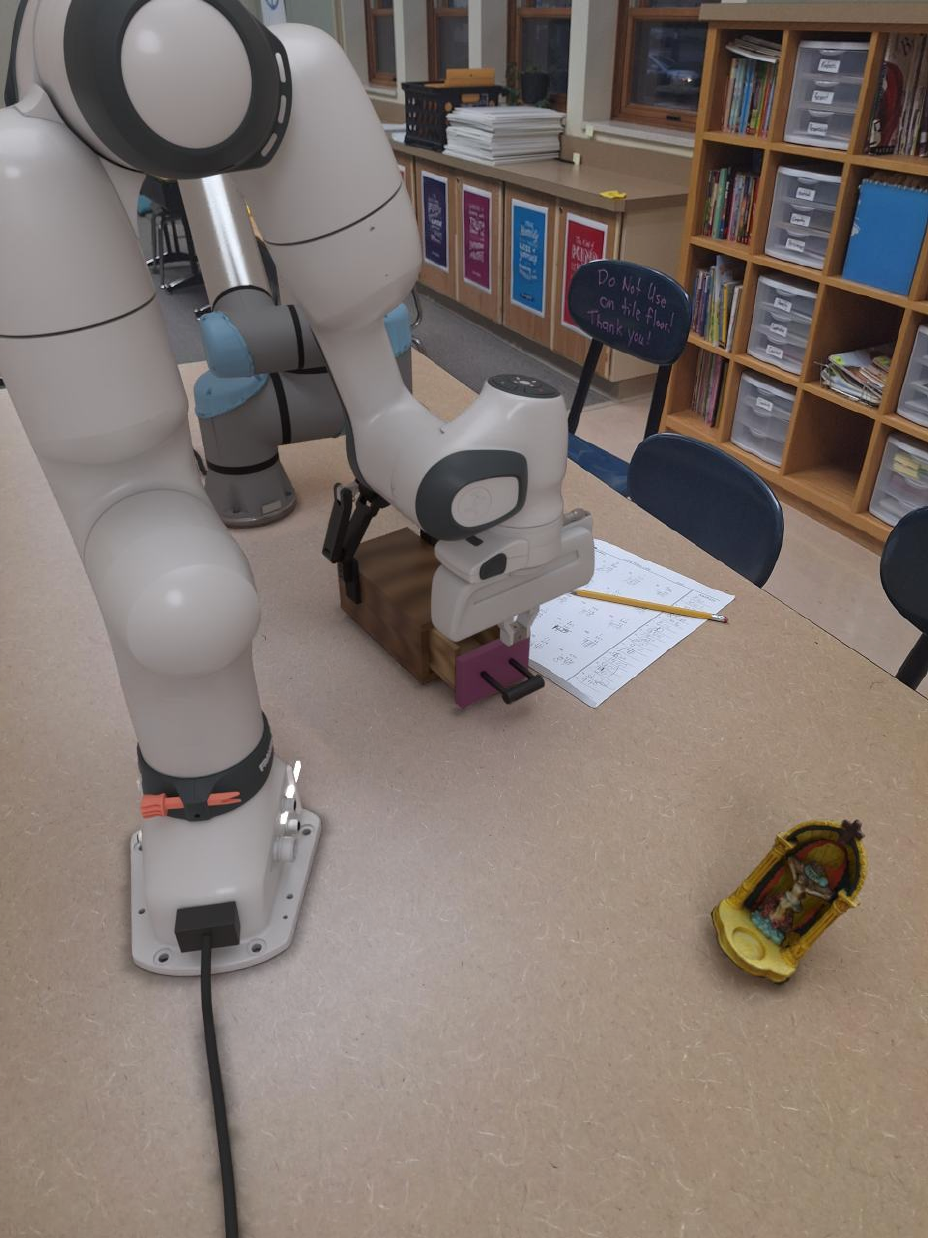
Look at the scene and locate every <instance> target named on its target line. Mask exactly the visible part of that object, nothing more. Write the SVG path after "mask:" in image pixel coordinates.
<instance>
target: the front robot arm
mask: <svg viewBox="0 0 928 1238" xmlns="http://www.w3.org/2000/svg"><path fill="white" fill-rule="evenodd" d="M12 27H13V29H12V35H11V36H12V37H11V44H10V52H9V61H8V67H7V73H6V79H5V85H4V93H3V100H4V105H5V107H2V108H0V377H1V379H2V381H3V384H4V387H5V388H6V391H7V393H8V395H9V396H8V397H9V398H10V400H11V403H12V405H13V407H14V409H15V411H16V414H17V416H18V419H19V421H20V424H21V426H22V428H23V430H24V433H25V435H26V438H27V439H28V442H29V444H30V446H31V449H32V450H33V453H34V455H35V457H36V459H37V461H38V463H39V465H40V468H41V470H42V472H43V475H44V477H45V479H46V481H47V483H48V486H49V487H50V490H51V492H52V494H53V496H54V499H55V501H56V504H57V506H58V509H59V510H60V512H61V515H62V517H63V521H64V522H65V525H66V526H67V529H68V531H69V534H70V536H71V539H72V541H73V543H74V545H75V547H76V551H77V554H78V556H79V558H80V562H81V564H82V566H83V568H84V571H85V574H86V577H87V578H88V581H89V584H90V586H91V590H92V591H93V594H94V597H95V599H96V602H97V605H98V608H99V611H100V613H101V617H102V620H103V623H104V626H105V629H106V632H107V637H108V639H109V643H110V647H111V650H112V654H113V657H114V661H115V664H116V669H117V674H118V677H119V684H120V688H121V691H122V694H123V697H124V701H125V703H126V707H127V711H128V714H129V717H130V721H131V723H132V726H133V730H134V733H135V737H136V741H137V743H136V744H137V745H136V756H137V758H136V759H137V762H136V763H137V772H138V778H137V780H136V782H135V783H136V785H137V788H138V791H139V807H140V810H139V811H140V828H139V829H137V830H136V831H135V832H134V833H133V834H132V836H131V838H130V916H131V917H130V924H131V925H130V926H131V927H130V928H131V931H130V933H131V934H130V935H131V955H132V960H133V963H134V965H136V966H137V967H139V968H140V969H143V970H146V971H148V972H150V973H153V974H160V975H164V976H174V977H175V976H176V977H194V976H200V1000H201V1003H200V1004H201V1013H202V1024H203V1033H204V1042H205V1050H206V1051H205V1052H206V1059H207V1066H208V1067H207V1068H208V1073H209V1074H208V1075H209V1080H210V1087H211V1096H212V1102H213V1111H214V1112H213V1113H214V1121H215V1130H216V1139H217V1148H218V1157H219V1167H220V1175H221V1176H220V1177H221V1187H222V1197H223V1211H224V1228H225V1229H224V1230H225V1232H224V1233H225V1238H239V1226H238V1225H239V1224H238V1210H237V1199H236V1189H235V1188H236V1186H235V1177H234V1167H233V1159H232V1152H231V1144H230V1134H229V1127H228V1126H229V1125H228V1118H227V1111H226V1103H225V1095H224V1090H223V1089H224V1087H223V1082H222V1081H223V1080H222V1075H221V1074H222V1073H221V1069H220V1068H221V1067H220V1062H219V1055H218V1046H217V1039H216V1030H215V1021H214V1012H213V1001H212V999H213V998H212V975H216V974H222V973H223V974H224V973H228V972H234V971H238V970H243V969H246V968H250V967H253V966H256V965H258V964H261V963H264V962H266V961H268V960H271V959H272V958H274V957H276V956H278V955H280V954H281V953H282V952H284V951H285V950H287V949H288V948H289V947H290V945H291V944H292V942H293V941H292V940H293V937H294V934H295V930H296V927H297V924H298V920H299V916H300V912H301V908H302V905H303V902H304V897H305V893H306V889H307V886H308V882H309V878H310V874H311V871H312V867H313V864H314V860H315V857H316V853H317V850H318V846H319V841H320V838H321V834H322V828H323V825H322V822H321V818H320V817H319V816H318V815H317V814H316V813H315V812H312V811H310V810H309V809H306V808H303V805H302V802H301V796H300V792H299V788H298V783H297V781H298V778H299V774H300V770H301V761H300V760H296V762H295V766H294V768H293V766H291V765H290V764H289V763H288V762H287V761H286V760H284V759H283V758H281V757H280V756H279V755H278V753H276V752H275V749H274V739H273V738H274V737H273V732H272V728H271V726H270V723H269V720H268V718H267V715H266V714H265V712H264V710H263V709H262V706H261V700H260V694H259V690H258V689H259V688H258V685H257V679H256V673H255V668H254V660H253V641H254V639H255V638H256V635H257V633H258V630H259V627H260V623H261V617H262V613H261V612H262V608H261V601H260V597H259V593H258V588H257V585H256V580H255V577H254V573H253V571H252V568H251V565H250V561H249V560H248V557H247V555H246V553H245V552H244V550H243V549H242V548H241V546H240V544H239V543H238V542H237V540H236V538H235V537H234V536H233V534H232V533H231V532H230V530H229V529H228V527H226V526H225V524H224V523H223V522H222V520H221V518H220V516H219V515H218V513H217V512H216V510H215V508H214V506H213V504H212V503H211V501H210V499H209V497H208V495H207V493H206V491H205V489H204V487H205V485H204V484H203V481H202V478H201V475H200V472H199V467H198V463H197V459H196V457H195V455H194V450H195V449H194V445H193V440H192V435H191V428H190V421H189V409H190V405H189V398H188V395H187V392H186V388H185V385H184V382H183V378H182V374H181V372H180V368H179V364H178V361H177V358H176V355H175V351H174V348H173V344H172V342H171V337H170V334H169V331H168V328H167V325H166V321H165V317H164V314H163V310H162V307H161V304H160V301H159V297H158V294H157V291H156V287H155V284H154V282H153V278H152V275H151V272H150V269H149V265H148V263H147V260H146V258H145V254H144V252H143V248H142V246H141V243H140V240H141V237H140V236H141V235H140V229H139V222H138V207H139V206H138V205H139V198H140V195H141V194H140V193H141V191H142V190H141V189H142V188H143V187H142V186H143V183H144V181H145V179H146V177H147V174H148V175H151V176H153V177H157V178H161V179H168V180H189V179H200V178H206V177H211V176H215V175H220V174H225V173H227V174H228V175H229V177H230V178H231V179H232V181H233V182H234V184H235V185H236V187H237V188H238V190H239V191H240V193H241V194H242V195H244V199H245V202H246V206H247V209H248V211H249V212H250V213H249V214H250V215H251V217H252V219H253V222H254V224H255V226H256V228H257V230H258V233H259V235H260V237H261V238H262V240H263V243H264V245H265V247H266V250H267V251H268V253H269V255H270V258H271V259H272V262H273V263H274V265H275V268H276V267H277V269H278V271H279V273H280V274H281V276H282V278H283V280H284V282H285V284H286V285H287V287H288V289H289V291H290V292H291V294H292V296H293V297H294V299H295V301H296V302H297V304H298V305H299V307H300V309H301V311H302V313H303V315H304V316H305V318H306V320H307V322H308V324H309V326H310V329H311V332H312V334H313V337H314V339H315V342H316V344H317V347H318V349H319V352H320V354H321V356H322V359H323V361H324V364H325V366H326V369H327V371H328V374H329V376H330V378H331V381H332V383H333V386H334V388H335V391H336V393H337V395H338V398H339V401H340V403H341V406H342V410H343V414H344V419H345V432H346V435H345V451H346V453H345V454H346V458H347V463H348V465H349V469H350V470H351V473H352V474H353V475H354V477H355V478H357V480H358V481H359V482H360V483H361V484H362V485H364V486H365V487H367V488H368V489H370V490H371V491H373V492H375V493H376V494H378V495H379V496H381V497H383V498H384V499H385V500H386V501H387V502H389V503H390V504H391V506H392V507H393V508H395V509H396V510H397V511H398V512H400V514H402V515H403V516H404V517H405V518H407V519H408V520H409V521H411V522H412V523H413V524H415V526H416V527H418V528H419V529H420V528H421V529H422V530H423V531H425V532H426V533H428V534H429V535H430V536H432V537H434V538H436V539H439V541H438V542H437V543H436V545H435V557H436V558H437V559H438V560H439V561H440V562H441V563H442V564H441V565H440V566H439V567H438V569H437V570H436V572H435V574H434V577H433V582H432V594H431V617H432V623H433V625H434V626H435V628H436V629H437V630H438V631H439V632H441V633H442V634H443V635H444V636H446V637H447V638H449V639H450V640H452V641H454V642H458V641H461V640H463V639H465V638H467V637H469V636H472V635H474V634H476V633H478V632H481V631H483V630H485V629H488V628H490V627H492V626H494V625H498V627H499V628H500V639H501V641H502V642H503V643H504V644H505V645H507V646H508V647H509V646H511V645H513V644H515V643H518V642H520V641H522V640H524V639H526V638H529V637H530V638H531V633H530V632H531V626H532V625H533V624H534V621H535V620H536V618H537V617H538V615H539V613H540V609H541V606H542V605H543V604H544V605H545V604H546V603H548V602H551V601H553V600H555V599H557V598H559V597H561V596H564V595H567V594H569V593H571V592H573V591H575V590H577V589H580V588H582V587H584V586H587V585H588V584H589V583H590V581H591V580H592V578H593V577H594V574H595V568H596V567H595V566H596V564H595V563H596V556H595V555H596V554H595V552H596V551H595V540H594V536H593V526H594V517H593V516H592V514H591V512H590V511H588V510H585V509H583V508H581V507H580V508H576V509H573V510H571V511H570V512H567V513H564V510H565V503H564V499H563V494H562V485H563V482H564V481H563V480H564V479H565V476H566V473H567V467H568V454H569V420H568V419H569V417H568V411H567V405H566V402H565V398H564V396H563V394H562V393H561V392H560V391H559V389H558V388H555V387H554V386H552V385H551V384H549V383H547V382H545V381H543V380H541V379H538V378H537V377H533V376H532V377H531V376H527V375H524V374H516V373H502V374H496V375H493V376H490V377H488V378H487V379H486V380H485V381H484V384H483V386H482V389H481V391H480V393H479V395H478V396H477V397H475V400H473V401H472V403H471V404H470V405H469V406H468V407H467V408H466V409H465V410H463V411H462V412H461V413H460V414H458V416H456V417H455V418H453V419H452V420H450V421H449V422H448V421H447V420H445V419H444V418H442V417H440V416H439V415H437V414H436V413H434V411H432V410H431V409H430V408H428V407H427V406H426V405H425V404H423V403H422V402H421V401H420V400H418V399H417V398H416V397H415V396H414V395H412V394H411V393H410V392H409V391H408V389H407V388H406V386H405V385H404V382H403V380H402V377H401V374H400V371H399V368H398V365H397V361H396V358H395V355H394V352H393V349H392V346H391V343H390V340H389V337H388V334H387V331H386V328H385V325H384V319H383V317H384V316H385V315H387V314H388V313H390V312H391V311H393V310H394V309H395V308H397V307H398V306H399V305H400V304H401V303H404V301H405V300H406V299H407V297H408V296H409V294H410V293H411V291H412V290H413V288H414V286H415V285H416V282H417V280H418V278H419V275H420V273H421V269H422V265H423V252H422V245H421V244H422V243H421V237H420V232H419V226H418V220H417V218H416V217H417V216H416V214H415V210H414V206H413V205H412V200H411V198H410V194H409V191H408V189H407V186H406V183H405V180H404V178H403V175H402V172H401V169H400V166H399V163H398V161H397V159H396V156H395V153H394V149H393V148H392V145H391V144H390V139H389V138H388V135H387V133H386V131H385V128H384V127H383V126H384V125H383V124H382V122H381V120H380V118H379V115H378V113H377V111H376V109H375V106H374V104H373V103H372V101H371V99H370V97H369V95H368V92H367V90H366V89H365V87H364V85H363V83H362V80H361V79H360V77H359V75H358V73H357V72H356V70H355V68H354V66H353V64H352V62H351V61H350V59H349V58H348V55H347V54H346V52H345V51H344V49H343V47H342V45H340V44H339V42H338V41H336V39H335V38H334V37H332V36H331V35H330V34H329V33H328V32H326V31H325V30H323V29H321V28H319V27H316V26H313V25H311V24H305V23H299V22H283V23H275V24H270V25H268V26H266V25H265V24H264V23H263V22H261V21H260V20H259V18H258V17H257V16H255V15H254V14H253V13H252V12H251V11H250V10H249V9H247V7H246V6H245V5H244V4H243V3H242V2H241V0H20V2H19V3H18V7H17V10H16V13H15V18H14V22H13V26H12ZM193 449H194V450H193ZM515 617H516V618H515ZM257 949H258V951H256V952H255V950H257ZM259 949H260V950H259ZM165 959H167V960H165ZM163 960H165V961H163ZM162 961H163V962H162Z"/></svg>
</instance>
